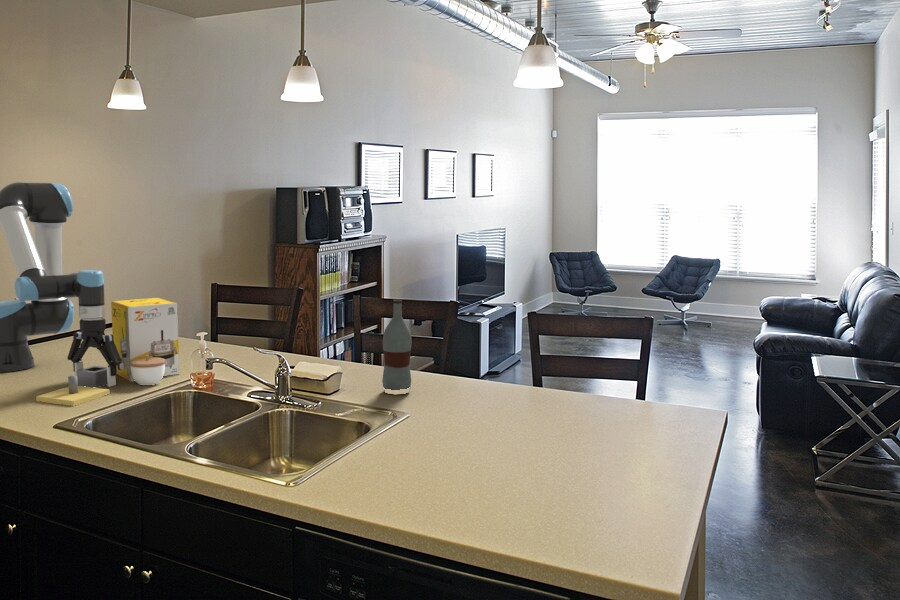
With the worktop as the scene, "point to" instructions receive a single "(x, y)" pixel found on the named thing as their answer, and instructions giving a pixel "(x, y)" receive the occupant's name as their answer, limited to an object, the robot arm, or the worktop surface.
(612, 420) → the worktop surface
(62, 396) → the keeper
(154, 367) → the lidded jar
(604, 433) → the worktop surface
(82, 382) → the grey square hollow block
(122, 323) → the packaging box
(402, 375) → the bottle
